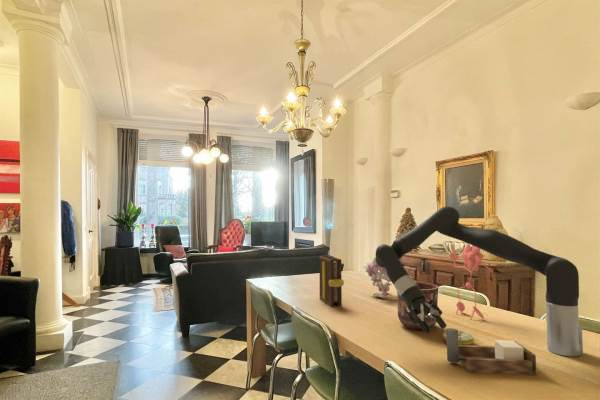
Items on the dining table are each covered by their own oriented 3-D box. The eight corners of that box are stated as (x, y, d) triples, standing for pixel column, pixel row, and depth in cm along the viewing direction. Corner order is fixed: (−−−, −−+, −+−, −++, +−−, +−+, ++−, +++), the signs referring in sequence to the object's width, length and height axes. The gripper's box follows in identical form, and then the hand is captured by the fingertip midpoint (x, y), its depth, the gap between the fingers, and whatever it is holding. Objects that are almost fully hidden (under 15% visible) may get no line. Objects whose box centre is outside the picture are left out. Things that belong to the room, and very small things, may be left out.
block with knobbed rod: (514, 359, 114) (513, 328, 114) (523, 367, 108) (522, 335, 108) (444, 356, 116) (443, 326, 117) (450, 364, 110) (449, 332, 111)
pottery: (443, 334, 140) (442, 290, 141) (398, 331, 144) (398, 288, 145) (435, 321, 158) (434, 282, 159) (395, 319, 161) (395, 281, 162)
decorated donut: (455, 336, 139) (455, 327, 139) (480, 345, 130) (479, 335, 130) (437, 340, 134) (437, 330, 135) (461, 350, 125) (461, 339, 125)
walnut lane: (515, 358, 117) (515, 341, 117) (536, 375, 105) (535, 355, 105) (454, 356, 119) (454, 339, 119) (468, 372, 107) (467, 352, 107)
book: (316, 298, 202) (316, 255, 203) (330, 297, 205) (329, 255, 206) (331, 308, 181) (330, 260, 182) (345, 306, 184) (345, 259, 185)
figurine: (484, 325, 152) (483, 246, 154) (442, 310, 176) (442, 242, 178) (510, 322, 157) (508, 245, 159) (466, 308, 181) (465, 241, 183)
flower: (414, 296, 200) (402, 255, 212) (385, 296, 189) (374, 254, 201) (390, 304, 215) (380, 266, 227) (363, 305, 204) (354, 265, 216)
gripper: (415, 293, 133) (442, 331, 123) (390, 299, 126) (417, 340, 116) (426, 282, 129) (456, 320, 119) (401, 287, 121) (430, 328, 111)
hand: (437, 330), depth 117 cm, fingers open, 8 cm apart
